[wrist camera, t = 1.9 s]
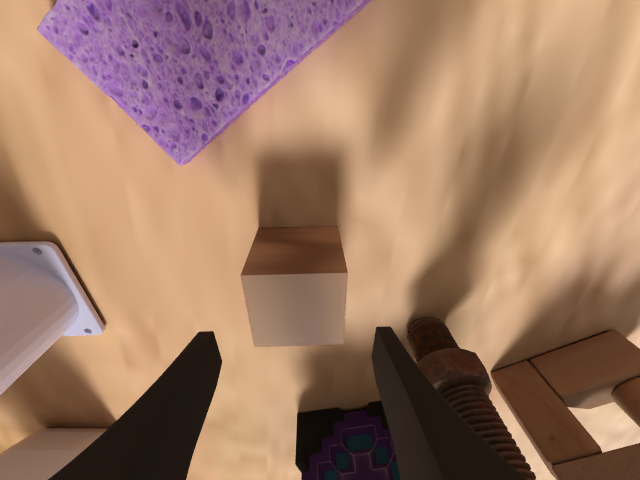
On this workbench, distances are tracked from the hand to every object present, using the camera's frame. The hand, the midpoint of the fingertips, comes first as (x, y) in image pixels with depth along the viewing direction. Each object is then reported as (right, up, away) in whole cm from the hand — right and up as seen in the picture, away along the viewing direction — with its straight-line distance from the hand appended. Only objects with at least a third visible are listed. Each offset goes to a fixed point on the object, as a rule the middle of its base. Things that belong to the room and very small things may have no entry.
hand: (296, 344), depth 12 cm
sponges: (-3, +15, 0) cm, 15 cm away
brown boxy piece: (0, +3, +6) cm, 7 cm away
